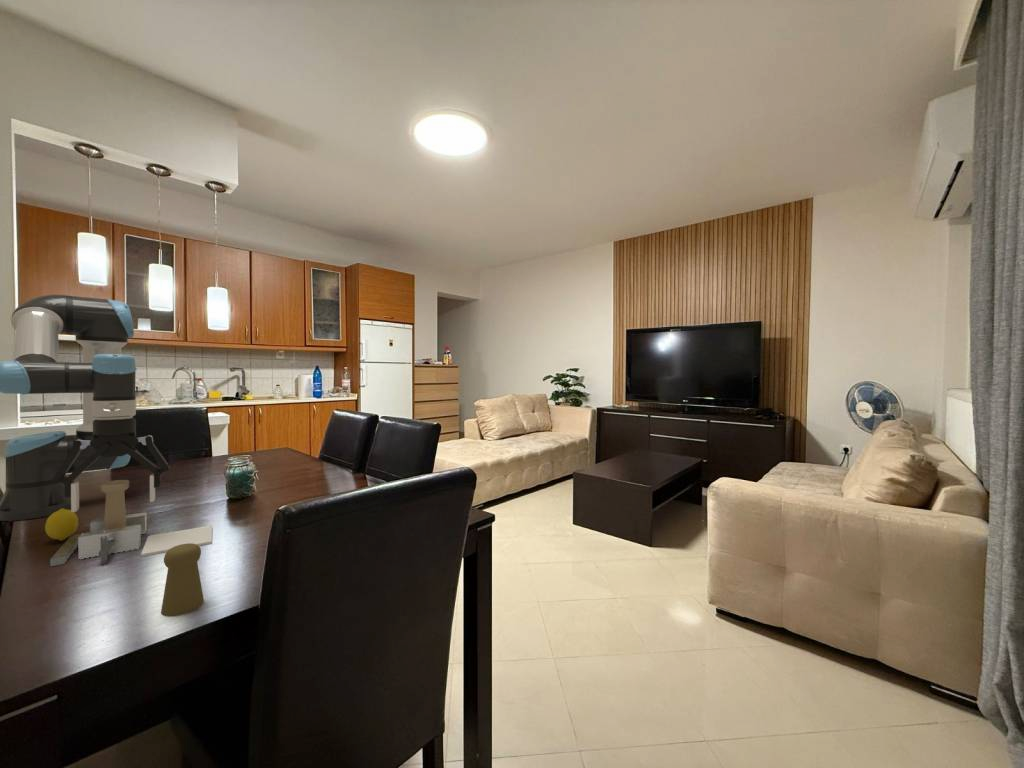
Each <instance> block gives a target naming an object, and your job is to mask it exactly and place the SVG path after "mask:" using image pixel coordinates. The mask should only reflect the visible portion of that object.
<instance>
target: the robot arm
mask: <svg viewBox="0 0 1024 768" xmlns="http://www.w3.org/2000/svg"><path fill="white" fill-rule="evenodd" d="M10 319H11V320H10V323H11V326H12V328H13V330H14V331H15V333H14V334H15V336H14V345H13V352H12V354H13V355H12V360H3V361H0V393H1V394H9V395H10V394H11V395H12V394H14V395H15V394H16V395H32V394H33V395H40V394H82V407H83V408H82V424H80V425H79V426H78V427H77V428H76V429H75V434H71V435H70V434H69V435H67V432H66V431H64V430H57V431H46V432H39V433H38V432H37V433H33V434H27V435H22V436H18V437H14V438H12V439H10V440H8V441H7V442H6V444H5V451H4V452H5V453H4V455H3V458H5V491H4V493H3V495H2V497H1V500H0V521H2V522H3V521H4V522H11V521H12V522H13V521H24V520H30V519H31V520H32V519H38V518H43V517H49V516H50V515H51V514H53V513H54V512H56V511H59V510H60V509H63V508H64V509H66V510H71V512H75V513H76V512H77V511H79V510H80V481H79V480H78V481H77V480H76V479H77V478H78V477H79V476H80V475H82V473H83V472H84V473H85V472H92V471H93V472H94V471H100V470H101V471H102V470H111V469H117V468H122V467H126V466H127V465H128V464H129V462H130V460H131V458H133V459H134V460H135V461H136V462H138V463H139V464H141V465H142V467H144V468H145V469H147V470H148V471H149V472H151V474H150V475H149V502H150V503H152V502H155V500H156V488H160V487H161V486H160V485H161V484H162V483H161V482H162V481H161V478H162V473H166V472H168V471H169V470H170V468H171V466H170V465H169V463H168V462H167V460H166V459H165V457H164V456H163V454H162V453H161V452H160V450H159V449H158V447H157V446H156V444H155V443H154V436H153V435H152V434H148V435H146V436H139V437H138V436H137V419H136V418H135V417H134V416H136V414H137V409H136V408H137V398H136V372H137V367H136V358H135V357H134V356H133V355H131V354H122V348H123V347H125V346H126V345H127V344H128V343H129V341H128V340H129V339H133V338H134V337H135V333H134V330H135V328H134V322H133V316H132V313H131V309H130V307H129V305H128V304H127V303H126V302H124V301H121V300H120V301H119V300H114V299H109V298H105V299H104V298H96V297H95V298H94V297H86V296H73V295H67V294H46V295H42V296H37V297H34V298H30V299H28V300H27V301H25V302H23V303H21V304H19V305H18V306H17V307H16V308H15V309H14V310H13V312H12V314H11V318H10ZM60 334H61V335H74V336H75V342H76V343H78V344H79V345H81V347H82V362H66V361H65V362H62V361H60V356H59V355H60V353H59V352H60V351H59V350H60V349H59V347H60V346H59V345H60V344H59V335H60ZM138 443H141V444H142V445H143V446H146V449H147V450H148V451H149V452H150V454H151V455H152V456H153V458H154V459H155V461H156V463H157V464H158V465H159V466H160V467H159V466H157V465H155V463H153V462H152V461H151V460H149V458H147V457H146V456H144V454H142V453H141V452H140V451H139V450H138V449H136V448H135V446H137V444H138ZM68 474H69V475H68ZM67 475H68V476H67ZM75 480H76V481H75Z"/></svg>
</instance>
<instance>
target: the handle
mask: <svg viewBox="0 0 1024 768" xmlns="http://www.w3.org/2000/svg"><path fill="white" fill-rule="evenodd" d="M129 488H130V480H128V479H118V480H117V479H116V480H110V481H106V482H103V483H101V484H100V491H101V492H102V493H104V494H105V508H104V517H103V518H104V530H107V529H113V528H120V527H126V515H127V510H126V499H125V498H126V497H125V491H126V490H128V489H129Z"/></svg>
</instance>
